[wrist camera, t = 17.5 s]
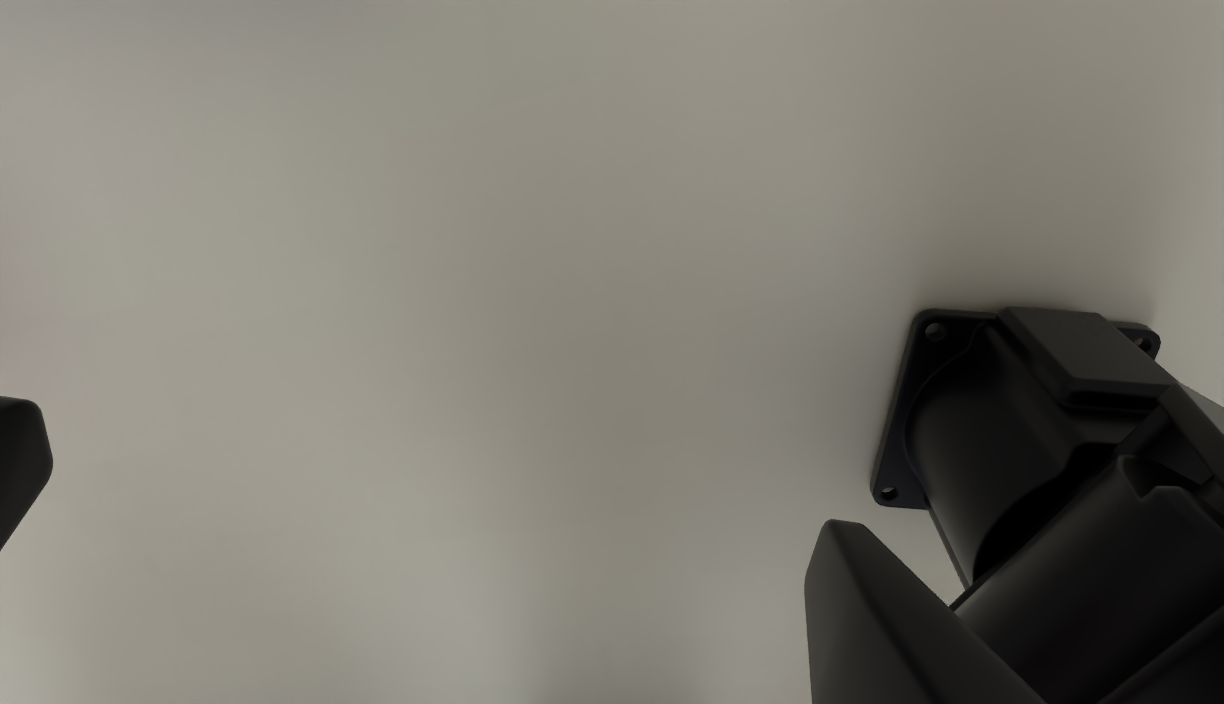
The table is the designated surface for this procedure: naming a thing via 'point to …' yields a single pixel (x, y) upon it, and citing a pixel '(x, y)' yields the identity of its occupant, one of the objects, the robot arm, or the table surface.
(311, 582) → the table surface
